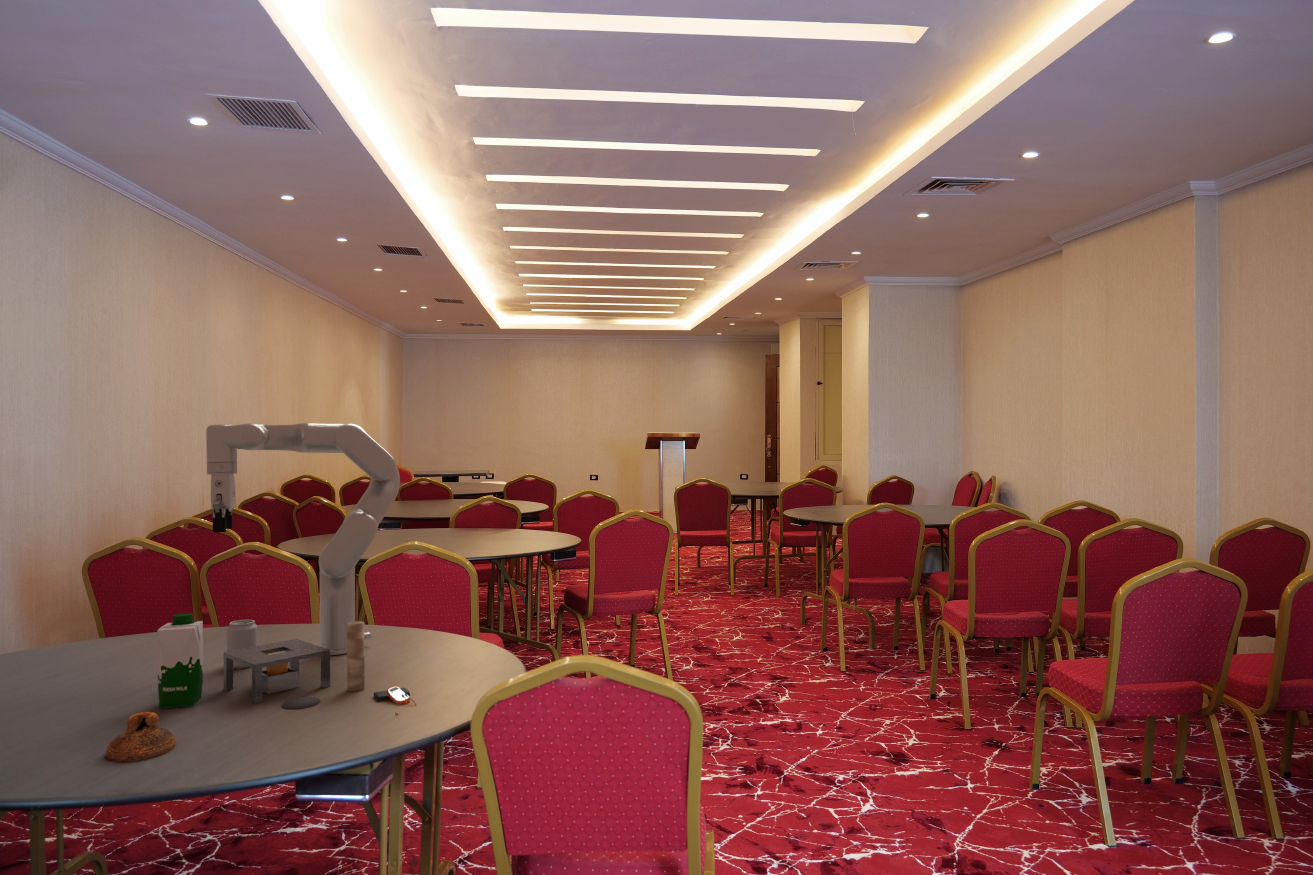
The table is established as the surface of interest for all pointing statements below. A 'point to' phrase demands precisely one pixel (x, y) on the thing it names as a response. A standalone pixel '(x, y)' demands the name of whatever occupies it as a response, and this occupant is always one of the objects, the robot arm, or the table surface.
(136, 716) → the brown rounded piece
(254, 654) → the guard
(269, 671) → the orange-brown round lump
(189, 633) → the milk carton
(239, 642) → the can
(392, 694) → the multimeter
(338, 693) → the table surface
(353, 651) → the dowel
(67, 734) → the table surface
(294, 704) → the coaster
